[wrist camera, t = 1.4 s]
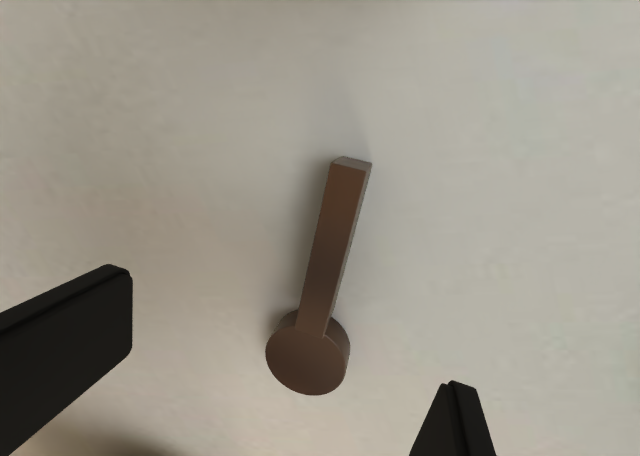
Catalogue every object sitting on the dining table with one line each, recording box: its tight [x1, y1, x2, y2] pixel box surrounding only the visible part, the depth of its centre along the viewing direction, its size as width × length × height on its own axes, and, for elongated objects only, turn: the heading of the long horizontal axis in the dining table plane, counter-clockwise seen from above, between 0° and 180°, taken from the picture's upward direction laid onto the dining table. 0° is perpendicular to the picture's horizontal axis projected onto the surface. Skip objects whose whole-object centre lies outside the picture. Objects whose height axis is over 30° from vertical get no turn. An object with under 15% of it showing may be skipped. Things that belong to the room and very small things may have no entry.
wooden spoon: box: [265, 156, 372, 395], centre depth 17 cm, size 14×5×3 cm, turn 168°
